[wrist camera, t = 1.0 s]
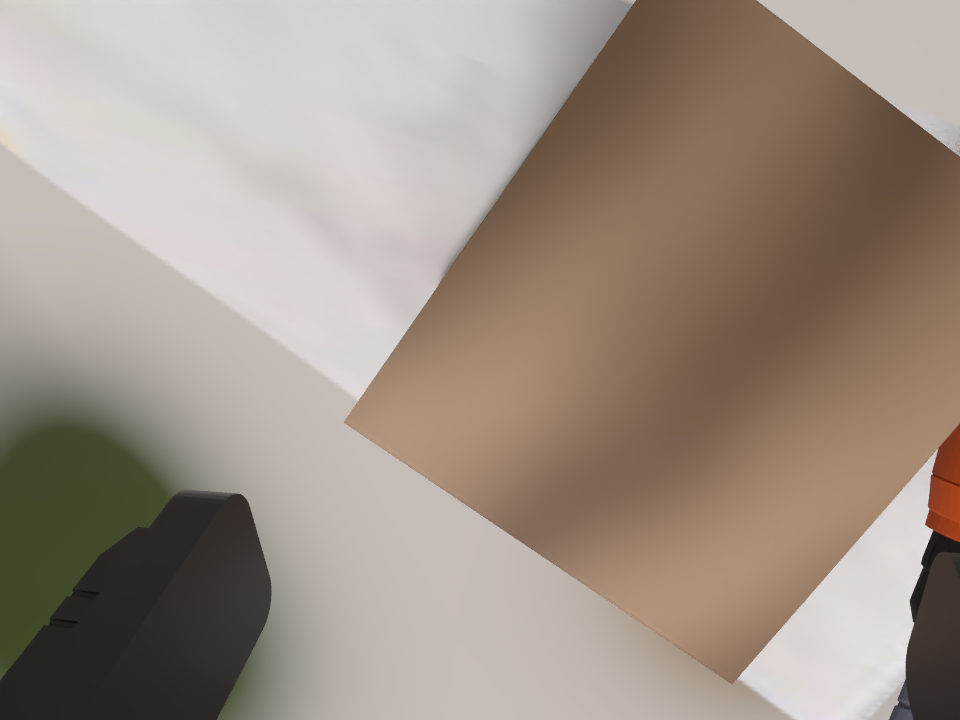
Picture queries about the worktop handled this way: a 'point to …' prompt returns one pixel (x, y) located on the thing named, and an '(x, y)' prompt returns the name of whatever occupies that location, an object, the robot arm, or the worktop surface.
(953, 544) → the toy drill
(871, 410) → the walnut stand
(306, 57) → the worktop surface
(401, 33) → the worktop surface
